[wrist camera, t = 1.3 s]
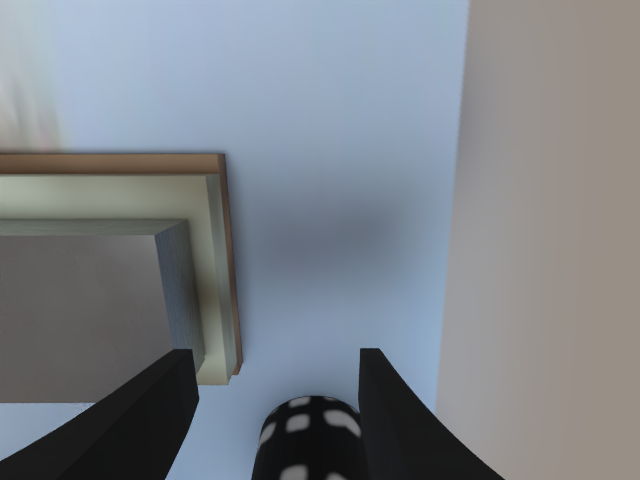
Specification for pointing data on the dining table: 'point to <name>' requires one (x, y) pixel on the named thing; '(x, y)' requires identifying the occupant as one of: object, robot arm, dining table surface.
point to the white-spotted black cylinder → (312, 442)
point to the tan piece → (145, 203)
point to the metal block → (92, 305)
